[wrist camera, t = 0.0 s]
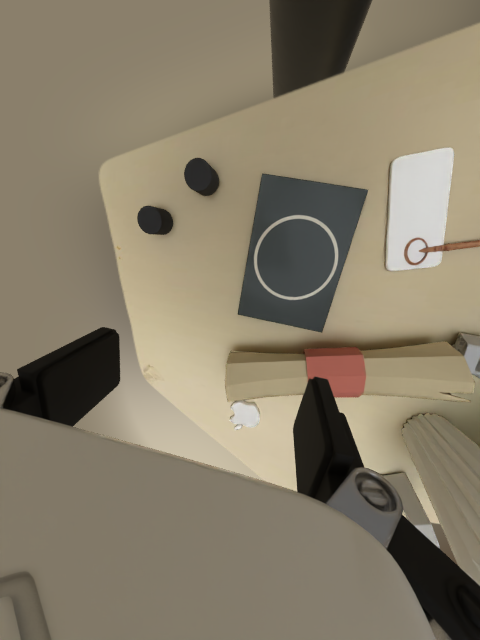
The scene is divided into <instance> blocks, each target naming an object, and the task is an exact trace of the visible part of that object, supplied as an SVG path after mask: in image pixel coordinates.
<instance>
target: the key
mask: <svg viewBox="0 0 480 640" xmlns="http://www.w3.org/2000/svg"><path fill="white" fill-rule="evenodd" d="M415 240H422V241H423V242H424V243H425V246H426V248H423V249H421V250H419V252H423V253H425V255H424V257H423V258H422V259H421V260H420V261H419V262H417V263H413V262H411V261H410V260H409V258H408V255H407V252H408V248H409V246H410V244H411V243H412V242H414V241H415ZM479 246H480V240H477V241H470V242H462V243H454V244H445V245H440V246H434V247H428V245H427V243H426V241H425V240H424V239H422V238H414V239H412V240H410V241H409V242H408V243H407V245H406V247H405V250H404V257H405V260H406V261H407V262H408V263H409V264H410V265H418V264H420V263H422V262H423V261H424V260H425V258H426V256H427V254H428V252H437V251H449V250H455V249H463V248H471V247H479Z"/></svg>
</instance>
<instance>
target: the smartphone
mask: <svg viewBox="0 0 480 640" xmlns="http://www.w3.org/2000/svg"><path fill="white" fill-rule="evenodd" d="M453 160H454V150H453V149H452V148H449V147H448V148H442V149H437V150H432V151H427V152H421V153H416V154H411V155H406V156H401V157H398V158H396V159H395V160H394V161H393V162H392V163H391V165H390V177H389V198H388V219H387V240H386V260H385V267H386V269H387V270H389V271H399V270H408V269H417V268H426V267H434V266H437V265H439V264H440V262H441V260H442V252H443V251H437V252H428V254H427V256H426V258H425V260H424V261H423V262H422V263H420V264H418V265H410V264H409V263H408V262H407V261H406V260H405V257H404V250H405V247H406V245H407V243H408V242H409V241H410V240H412V239H414V238H422V239H424V240H425V241H426V243H427V245H428V247H434V246H440V245H443V244H444V236H445V227H446V219H447V211H448V202H449V194H450V185H451V177H452V169H453ZM423 248H426V246H425V243H424V242H423V241H422V240H415V241H414V242H412V243H411V244H410V246H409V248H408V252H407V255H408V258H409V260H410V261H411V262H413V263H417V262H419V261H420V260H421V259H422V258H423V257H424V255H425V253H423V252H419V250H421V249H423Z"/></svg>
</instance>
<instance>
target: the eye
mask: <svg viewBox="0 0 480 640" xmlns="http://www.w3.org/2000/svg"><path fill="white" fill-rule="evenodd" d="M137 219H138V224H139V226H140V228H141V229H142V230H143V231H144V232H145V233H148V234H160V235H164V234H167V233H169V232H170V231H171V229H172V227H173V219H172V217H171V215H170V213H169V212H168V211H166V210H164V209H160V208H156V207H152V206H144V207H143V208H141V209H140V211H139V213H138V218H137Z"/></svg>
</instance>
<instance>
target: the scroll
mask: <svg viewBox="0 0 480 640" xmlns="http://www.w3.org/2000/svg"><path fill="white" fill-rule="evenodd" d="M230 352H231V353H230V354H229V357H228V360H227V363H228V364H226V376H225V389H226V395H227V400H228V402H233V401H240V400H247V399H255V398H262V397H273V396H289V395H304V392H305V389H306V386H307V383H308V380H309V379H313V378H314V377H315V376H316V377H320V378H324V379H328V381H329V384H330V387H331V390H332V393H333V396H334V397H359V396H361V395H379V396H398V397H410V398H421V399H433V400H444V401H456V402H470V400H467V399H463V398H460V397H456V396H453V395H451V394H450V393H469V394H473V390H474V386H475V381H474V379H473V376H472V374H471V372H470V369H469V367H468V364H467V362H466V360H465V357H464V356H463V355H462V354H461V353H460V352H458V351H457V350H456V349H455V348H453V347H452V346H451V345H449V344H448V343H447V342H446V341H445V342H437V343H429V344H421V345H413V346H406V347H398V348H389V349H377V350H366V351H360V350H359V349H358V348H357V347H344V348H320V349H304V354H278V353H253V352H240V351H230Z"/></svg>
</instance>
